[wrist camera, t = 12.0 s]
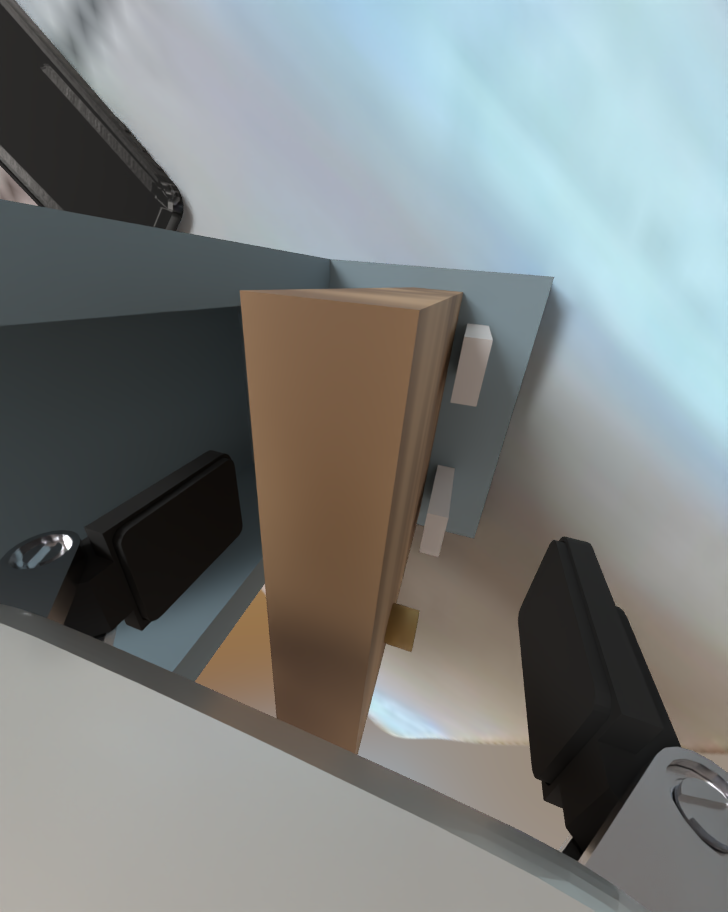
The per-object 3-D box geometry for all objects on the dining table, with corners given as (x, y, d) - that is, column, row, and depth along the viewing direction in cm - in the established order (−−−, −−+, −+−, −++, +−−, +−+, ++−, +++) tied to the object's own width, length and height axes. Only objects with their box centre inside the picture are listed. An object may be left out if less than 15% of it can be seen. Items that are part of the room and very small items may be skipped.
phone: (131, 303, 22) (-60, 103, 20) (145, 302, 23) (-36, 111, 21) (180, 196, 18) (-51, -68, 16) (195, 201, 19) (-21, -48, 17)
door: (485, 294, 16) (509, 320, 4) (434, 515, 22) (383, 793, 10) (413, 287, 16) (239, 290, 4) (384, 502, 23) (279, 747, 11)
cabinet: (547, 277, 16) (1668, 143, 1) (474, 524, 23) (468, 968, 8) (221, 251, 20) (-556, 147, 5) (244, 468, 27) (-45, 696, 12)
